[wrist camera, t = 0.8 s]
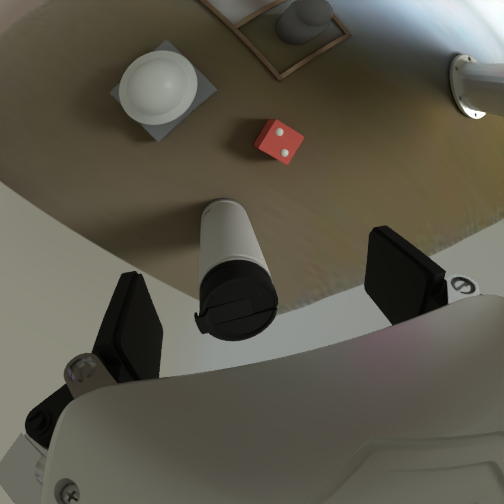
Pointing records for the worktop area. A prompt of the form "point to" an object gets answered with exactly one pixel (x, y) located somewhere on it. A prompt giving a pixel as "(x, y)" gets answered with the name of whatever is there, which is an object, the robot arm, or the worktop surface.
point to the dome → (158, 87)
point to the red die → (278, 140)
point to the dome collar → (202, 95)
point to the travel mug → (232, 275)
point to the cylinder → (303, 21)
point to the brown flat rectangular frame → (249, 7)
